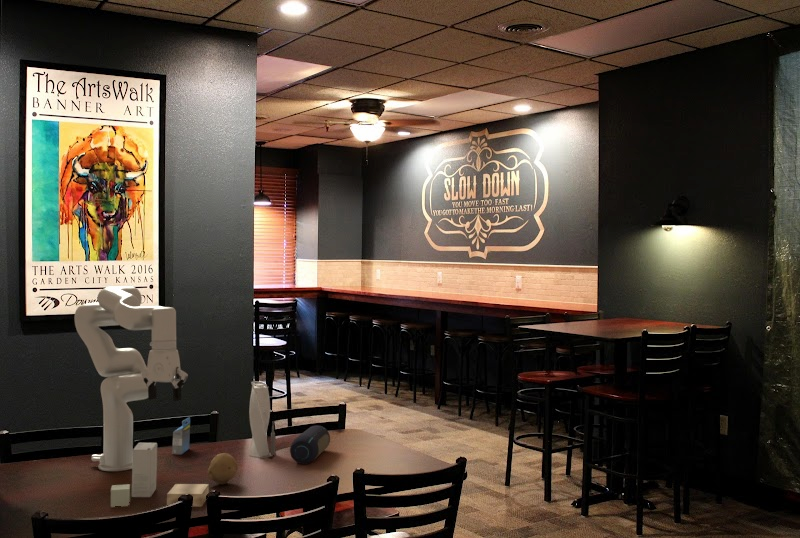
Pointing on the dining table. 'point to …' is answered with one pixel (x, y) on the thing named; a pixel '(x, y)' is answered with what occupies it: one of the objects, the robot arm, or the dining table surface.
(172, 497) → the maple slab
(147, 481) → the skincare box
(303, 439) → the portable speaker
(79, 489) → the dining table surface
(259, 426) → the skyscraper
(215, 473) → the tan rounded lump
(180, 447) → the label tape box
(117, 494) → the sage block
